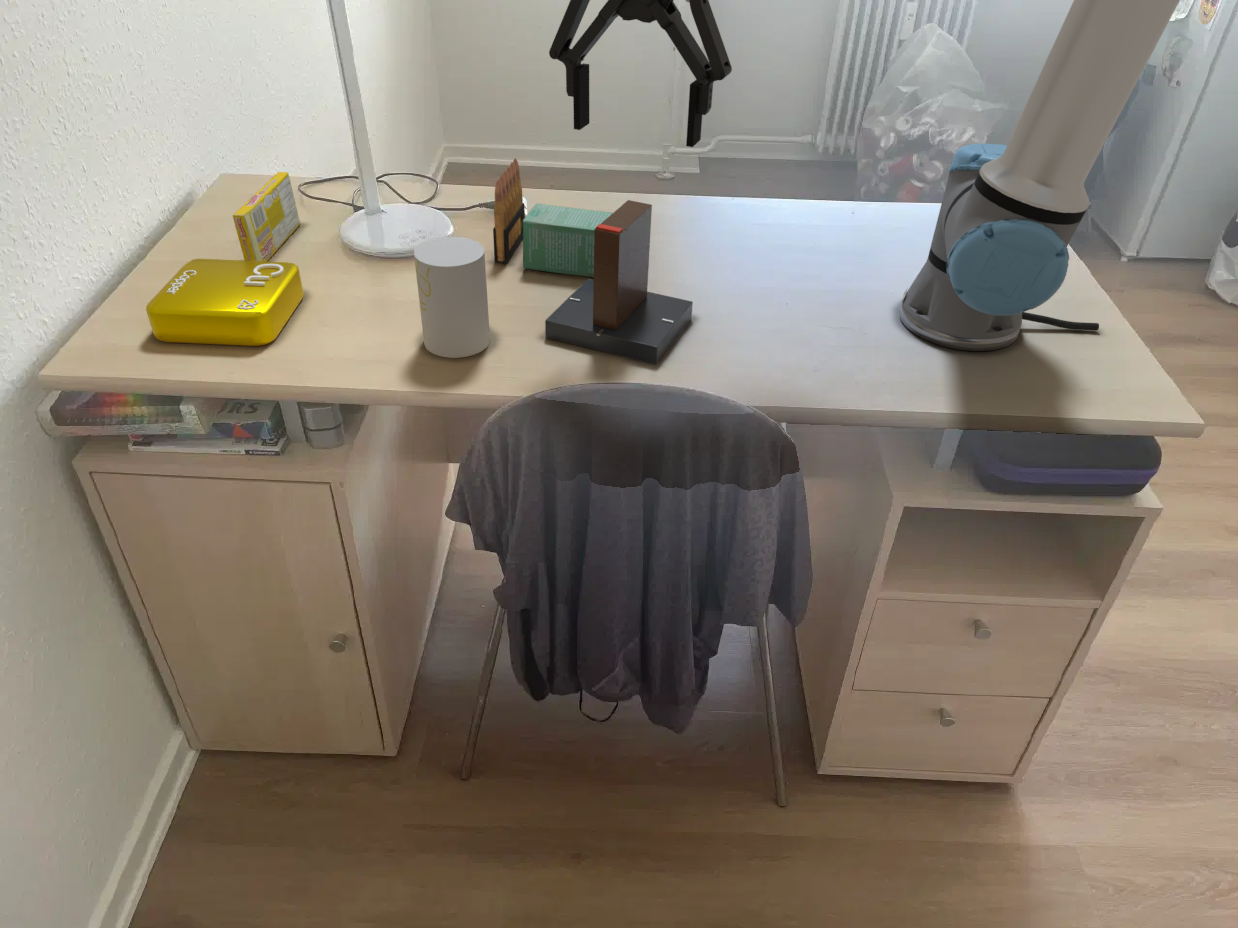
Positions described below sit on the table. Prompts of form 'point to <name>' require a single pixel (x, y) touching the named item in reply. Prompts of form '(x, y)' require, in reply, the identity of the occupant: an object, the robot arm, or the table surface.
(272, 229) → the candy box
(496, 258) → the ammunition clip
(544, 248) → the box
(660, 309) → the dark grey square slab
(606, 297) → the brown red-tipped block
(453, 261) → the cup
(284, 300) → the element tile
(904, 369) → the table surface
